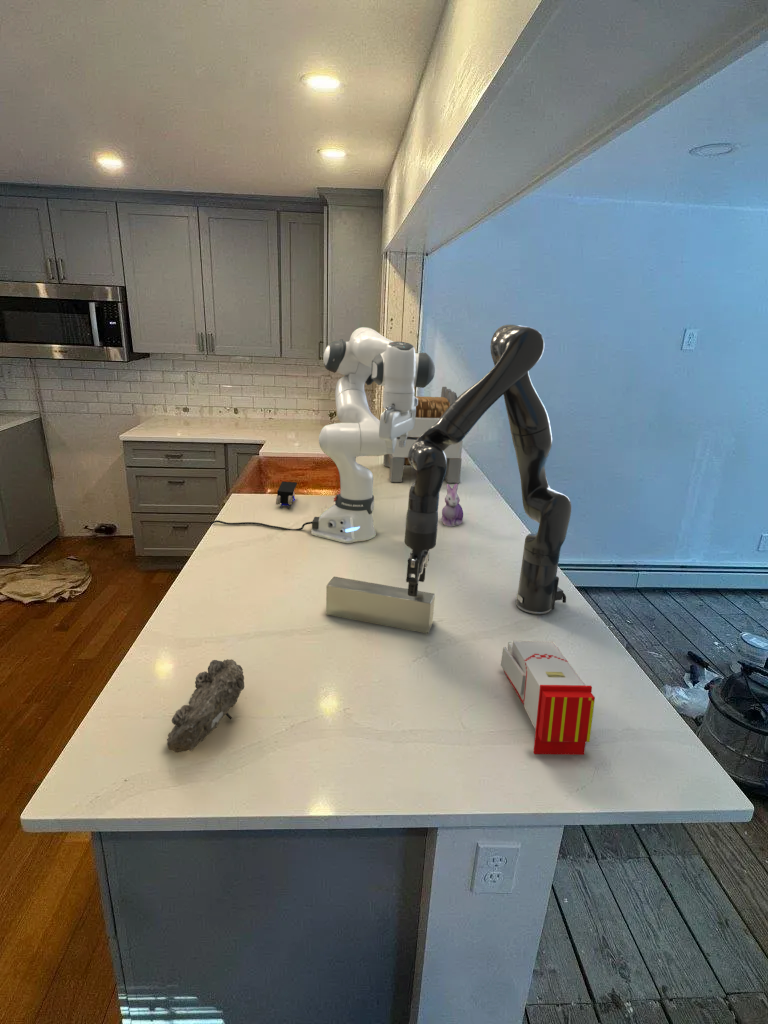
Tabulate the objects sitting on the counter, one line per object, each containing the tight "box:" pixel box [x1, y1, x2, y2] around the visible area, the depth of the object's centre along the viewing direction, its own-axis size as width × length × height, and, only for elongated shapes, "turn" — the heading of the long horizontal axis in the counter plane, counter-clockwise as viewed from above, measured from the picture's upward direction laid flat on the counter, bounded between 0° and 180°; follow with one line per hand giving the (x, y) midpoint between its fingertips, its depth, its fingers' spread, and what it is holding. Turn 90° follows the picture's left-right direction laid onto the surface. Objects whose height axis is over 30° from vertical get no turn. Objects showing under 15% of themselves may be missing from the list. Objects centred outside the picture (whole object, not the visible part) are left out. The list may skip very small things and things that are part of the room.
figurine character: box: [275, 480, 298, 509], centre depth 223 cm, size 7×8×15 cm
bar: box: [325, 576, 436, 634], centre depth 143 cm, size 27×5×8 cm, turn 74°
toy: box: [500, 640, 596, 756], centre depth 114 cm, size 12×13×30 cm
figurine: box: [440, 483, 464, 527], centre depth 210 cm, size 9×10×15 cm
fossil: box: [166, 658, 245, 754], centre depth 106 cm, size 22×10×15 cm
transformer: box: [383, 386, 464, 484], centre depth 268 cm, size 34×33×41 cm
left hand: (396, 450), depth 164 cm, fingers open, 8 cm apart
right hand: (416, 588), depth 139 cm, fingers open, 8 cm apart
